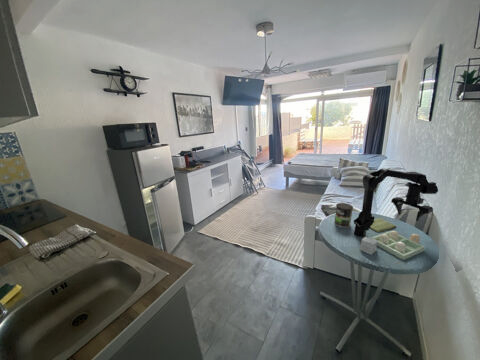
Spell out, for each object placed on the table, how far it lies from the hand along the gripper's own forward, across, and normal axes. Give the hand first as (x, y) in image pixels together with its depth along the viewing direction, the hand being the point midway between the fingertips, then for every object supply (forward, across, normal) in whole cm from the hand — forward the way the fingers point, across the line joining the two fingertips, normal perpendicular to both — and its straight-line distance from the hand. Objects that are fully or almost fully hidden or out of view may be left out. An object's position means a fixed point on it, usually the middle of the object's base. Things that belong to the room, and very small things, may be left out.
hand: (408, 217), depth 121 cm
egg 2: (+12, 0, +12) cm, 17 cm away
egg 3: (+12, -9, +21) cm, 25 cm away
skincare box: (+13, 0, +34) cm, 36 cm away
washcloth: (+14, +14, +2) cm, 20 cm away
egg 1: (+12, 0, +20) cm, 24 cm away
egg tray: (+13, -4, +16) cm, 21 cm away
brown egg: (+13, -7, +3) cm, 15 cm away
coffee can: (+13, +28, +20) cm, 37 cm away
